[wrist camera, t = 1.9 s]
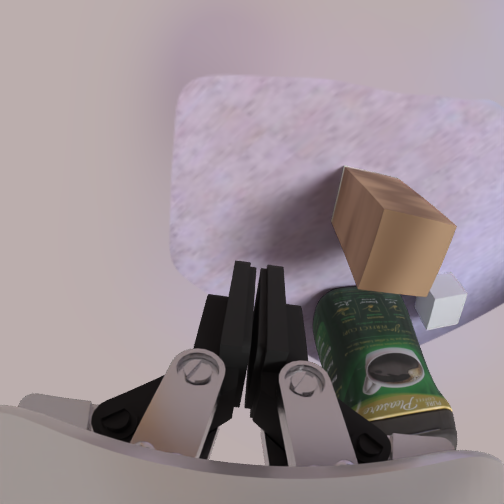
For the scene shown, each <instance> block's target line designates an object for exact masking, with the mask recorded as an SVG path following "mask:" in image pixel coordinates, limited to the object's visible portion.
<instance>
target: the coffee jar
mask: <svg viewBox="0 0 504 504" xmlns="http://www.w3.org/2000/svg"><path fill="white" fill-rule="evenodd" d="M313 333H314V339H315V343H316V347H317V351H318V355H319V358H320V362H321V365H322V368H323V369H324V370H325V371H326V372H327V374H328V376H329V377H330V380H331V383H332V386H333V388H334V391H335V394H336V397H337V398H338V399H340V400H341V401H342V402H344V403H345V404H346V405H348V406H349V407H350V408H352V409H353V410H354V411H356V412H357V413H358V414H360V415H361V416H363V417H364V418H365V419H367V420H368V421H369V422H371V423H372V424H374V425H375V426H377V427H378V428H379V429H381V430H382V431H383V432H384V433H385V434H386V435H389V436H391V435H392V434H393V433H397V434H406V435H417V436H431V437H442V438H446V439H447V440H449V441H450V442H451V443H452V445H453V446H454V449H455V451H456V447H457V431H456V428H455V422H454V417H453V413H452V409H451V407H450V405H449V403H448V402H447V400H446V399H445V398H444V397H443V396H442V394H441V393H440V391H439V390H438V389H437V387H436V385H435V383H434V381H433V379H432V377H431V375H430V372H429V370H428V367H427V365H426V362H425V359H424V357H423V354H422V351H421V348H420V345H419V343H418V340H417V337H416V334H415V331H414V328H413V325H412V322H411V319H410V316H409V314H408V311H407V308H406V306H405V304H404V302H403V299H402V297H401V296H400V294H394V293H385V292H377V291H369V290H361V289H358V288H357V286H356V287H344V288H338V289H334V290H332V291H330V292H328V293H327V294H326V295H324V296H323V297H322V298H321V300H320V301H319V303H318V305H317V307H316V310H315V315H314V319H313Z"/></svg>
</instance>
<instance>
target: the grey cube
mask: <svg viewBox="0 0 504 504" xmlns="http://www.w3.org/2000/svg"><path fill="white" fill-rule="evenodd" d="M467 294H468V293H467V292H466V291H465V289H464V288H463V287H462V285H461V284H460V283H459V281H458V280H457V279H456V278H455V276H454V275H453V274H452V273H451V272H449V273H442V274H437V276H436V278H435V280H434V283H433V285H432V287H431V289H430V291H429V293H428V295H427V297H420V296H416V301H415V306H414V307H415V309H416V311H417V313H418V315H419V317H420V319H421V320H422V322H423V324H424V326H425V328H426V330H431V329H436V328H441V327H446V326H451V325H456V324H458V322H459V319H460V316H461V313H462V310H463V307H464V304H465V300H466V297H467Z"/></svg>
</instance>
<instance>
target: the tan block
mask: <svg viewBox="0 0 504 504" xmlns="http://www.w3.org/2000/svg"><path fill="white" fill-rule="evenodd" d="M331 222H332V225H333V227H334V229H335V232H336V234H337V237H338V239H339V242H340V244H341V247H342V249H343V252H344V254H345V257H346V259H347V262H348V264H349V267H350V270H351V272H352V275H353V278H354V280H355V283H356V286H357V288H358V289H361V290H369V291H377V292H385V293H394V294H403V295H411V296H420V297H427V295H428V293H429V291H430V289H431V287H432V285H433V283H434V280H435V278H436V276H437V274H438V271H439V269H440V267H441V265H442V262H443V260H444V257H445V255H446V253H447V250H448V248H449V245H450V243H451V240H452V237H453V235H454V232H455V229H456V227H457V226H456V225H455V224H454V223H453V222H451V221H450V220H449V219H448V218H447V217H446V216H444V215H443V214H442V213H441V212H440V211H439V210H437V209H436V208H435V207H434V206H433V205H431V204H430V203H429V202H428V201H426V200H425V199H424V198H423V197H421V196H420V195H419V194H418V193H416V192H415V191H414V190H413V189H411V188H410V187H409V186H407V185H406V184H405V183H403V182H402V181H401V180H399V179H398V178H395V177H391V176H387V175H383V174H379V173H374V172H370V171H366V170H362V169H357V168H353V167H348V166H344V168H343V172H342V177H341V181H340V186H339V190H338V194H337V199H336V203H335V207H334V211H333V215H332V220H331Z"/></svg>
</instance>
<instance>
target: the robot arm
mask: <svg viewBox="0 0 504 504" xmlns="http://www.w3.org/2000/svg"><path fill="white" fill-rule="evenodd" d="M250 265H251V263H250V262H242V261H235V265H234V270H233V276H232V281H231V287H230V292H229V297H226V296H219V295H212V294H208V296H207V300H206V303H205V307H204V311H203V315H202V318H201V322H200V325H199V329H198V333H197V337H196V341H195V344H194V348H193V349H189V350H186V351H183V352H181V353H179V354H178V355H177V356H176V357H175V358H174V360H173V361H172V362H171V365H170V366H169V368H168V370H167V372H166V374H165V375H164V376H161V377H159V378H157V379H155V380H153V381H151V382H148V383H146V384H144V385H142V386H139V387H137V388H135V389H133V390H130V391H128V392H126V393H123V394H121V395H119V396H116V397H114V398H112V399H109V400H107V401H105V402H103V403H101V404H100V405H95V404H92V403H91V401H85V400H77V399H69V398H62V397H55V396H49V395H43V394H30V395H27V396H25V397H24V398H23V399H22V400H21V401H20V403H19V405H18V407H15V406H8V405H0V504H504V464H503V463H502V461H501V460H500V459H498V458H497V457H495V456H493V455H490V454H487V453H483V452H478V451H469V450H456V451H455V449H454V446H453V445H452V443H451V442H450V441H449V440H447V439H446V438H442V437H431V436H417V435H406V434H397V433H393V434H392V435H391V436H389V435H386V434H385V433H384V432H383V431H382V430H381V429H379V428H378V427H377V426H375V425H374V424H372V423H371V422H369V421H368V420H367V419H365V418H364V417H363V416H361V415H360V414H358V413H357V412H356V411H354V410H353V409H352V408H350V407H349V406H348V405H346V404H345V403H344V402H342V401H341V400H340V399H338V398H337V397H336V394H335V391H334V388H333V386H332V383H331V380H330V377H329V376H328V374H327V372H326V371H325V370H324V369H323V368H322V367H320V366H319V365H317V364H315V363H312V362H309V361H308V355H307V346H306V338H305V330H304V322H303V314H302V308H301V306H298V305H289V304H286V297H285V283H284V270H283V267H280V266H272V265H267V269H264V268H261V271H260V277H259V283H258V288H257V294H256V300H255V306H254V295H255V280H256V267H250ZM253 309H254V312H253ZM247 365H248V368H247ZM246 370H247V381H246V394H245V408H249V409H251V410H250V417H251V418H253V421H254V422H255V423H256V424H257V425H258V426H259V427H260V428H261V439H262V447H263V453H264V460H265V466H262V465H249V464H248V465H247V464H238V463H228V462H220V461H213V460H209V458H210V455H211V452H212V449H213V446H214V443H215V440H216V437H217V434H218V431H219V426H220V425H222V424H223V423H225V422H227V421H228V420H230V419H231V418H232V413H233V408H234V407H240V402H241V397H242V391H243V386H244V381H245V376H246Z"/></svg>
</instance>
